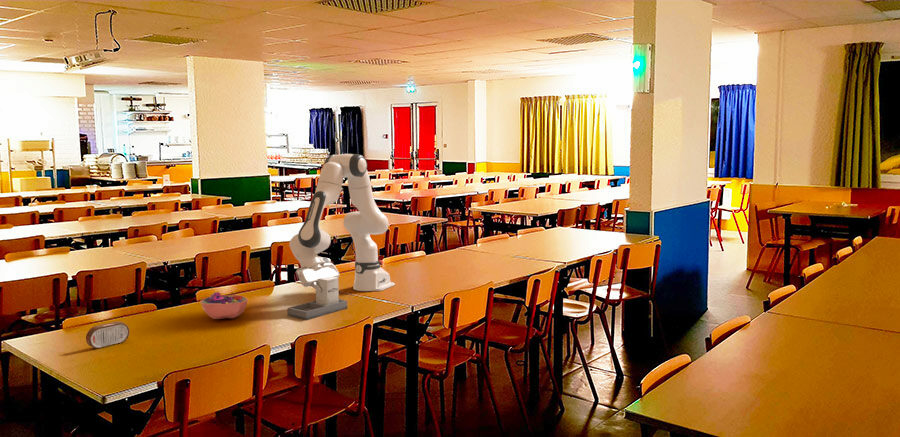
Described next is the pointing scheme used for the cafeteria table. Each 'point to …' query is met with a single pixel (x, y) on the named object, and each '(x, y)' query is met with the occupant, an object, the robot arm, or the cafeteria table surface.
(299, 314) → the grey divided tray
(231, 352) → the cafeteria table surface
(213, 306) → the cell model
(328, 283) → the supplement box
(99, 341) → the tin
